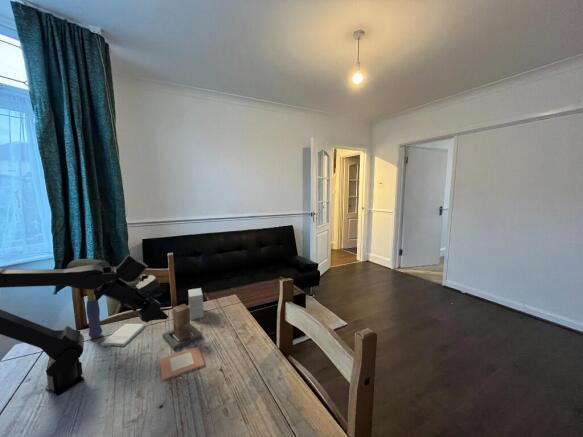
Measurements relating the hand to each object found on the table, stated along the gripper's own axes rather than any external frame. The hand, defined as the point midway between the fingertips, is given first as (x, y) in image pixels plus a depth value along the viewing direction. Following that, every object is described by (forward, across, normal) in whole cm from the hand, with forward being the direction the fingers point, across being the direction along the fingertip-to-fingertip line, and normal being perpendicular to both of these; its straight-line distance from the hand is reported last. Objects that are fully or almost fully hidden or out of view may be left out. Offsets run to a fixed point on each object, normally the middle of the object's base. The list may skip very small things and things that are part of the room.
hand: (162, 312), depth 87 cm
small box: (+22, +13, -4) cm, 25 cm away
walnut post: (+13, 0, +4) cm, 14 cm away
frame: (+13, 0, +4) cm, 14 cm away
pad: (+9, -13, +8) cm, 18 cm away
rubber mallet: (-2, +24, +20) cm, 31 cm away
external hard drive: (+3, +17, +15) cm, 23 cm away
